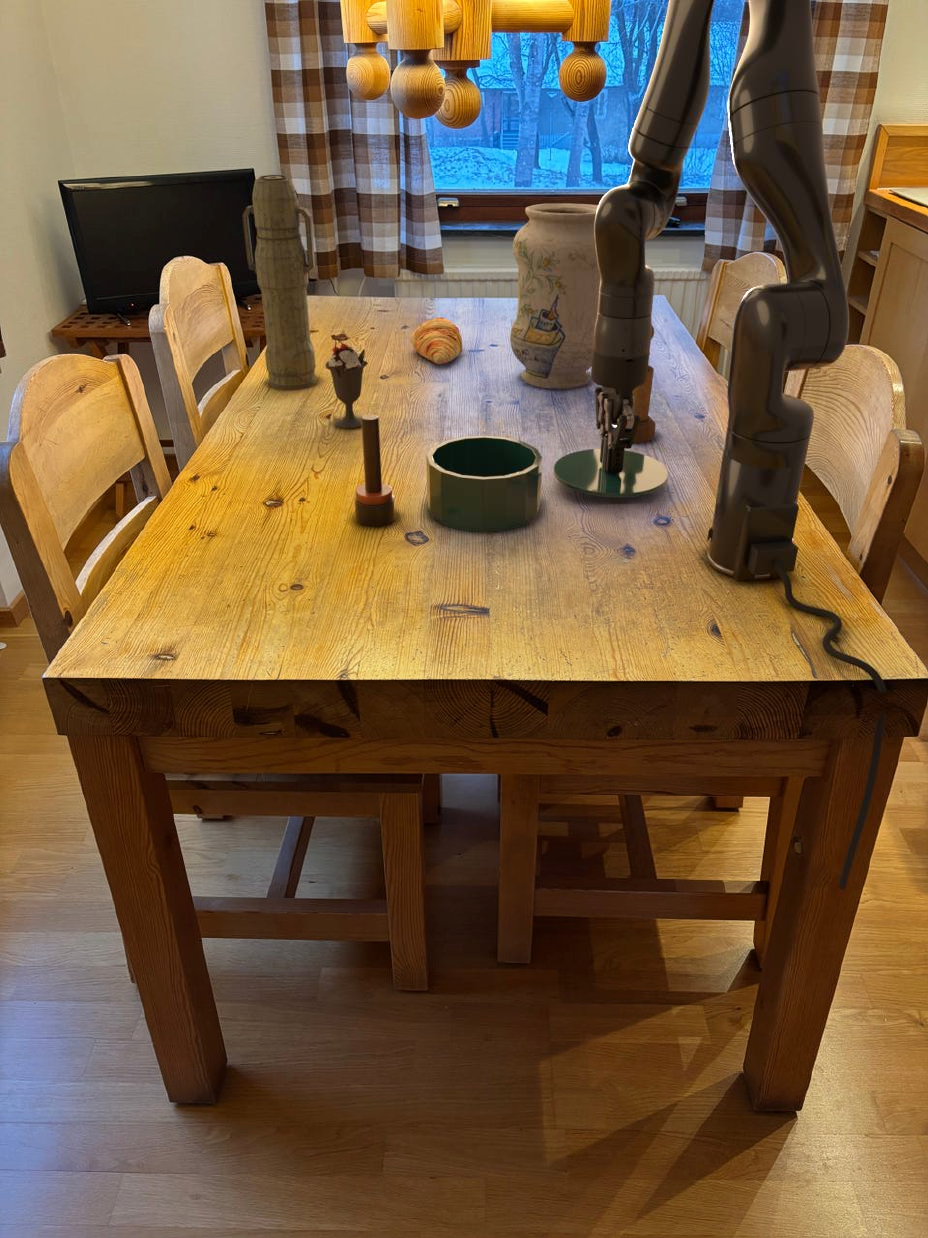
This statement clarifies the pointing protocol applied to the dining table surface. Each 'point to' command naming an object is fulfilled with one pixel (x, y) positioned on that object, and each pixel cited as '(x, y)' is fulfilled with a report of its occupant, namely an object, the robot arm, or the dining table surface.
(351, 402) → the sundae
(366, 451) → the brush
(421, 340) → the croissant
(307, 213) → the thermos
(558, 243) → the vase
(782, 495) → the robot arm
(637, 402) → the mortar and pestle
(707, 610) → the dining table surface
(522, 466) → the pot
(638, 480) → the lid
